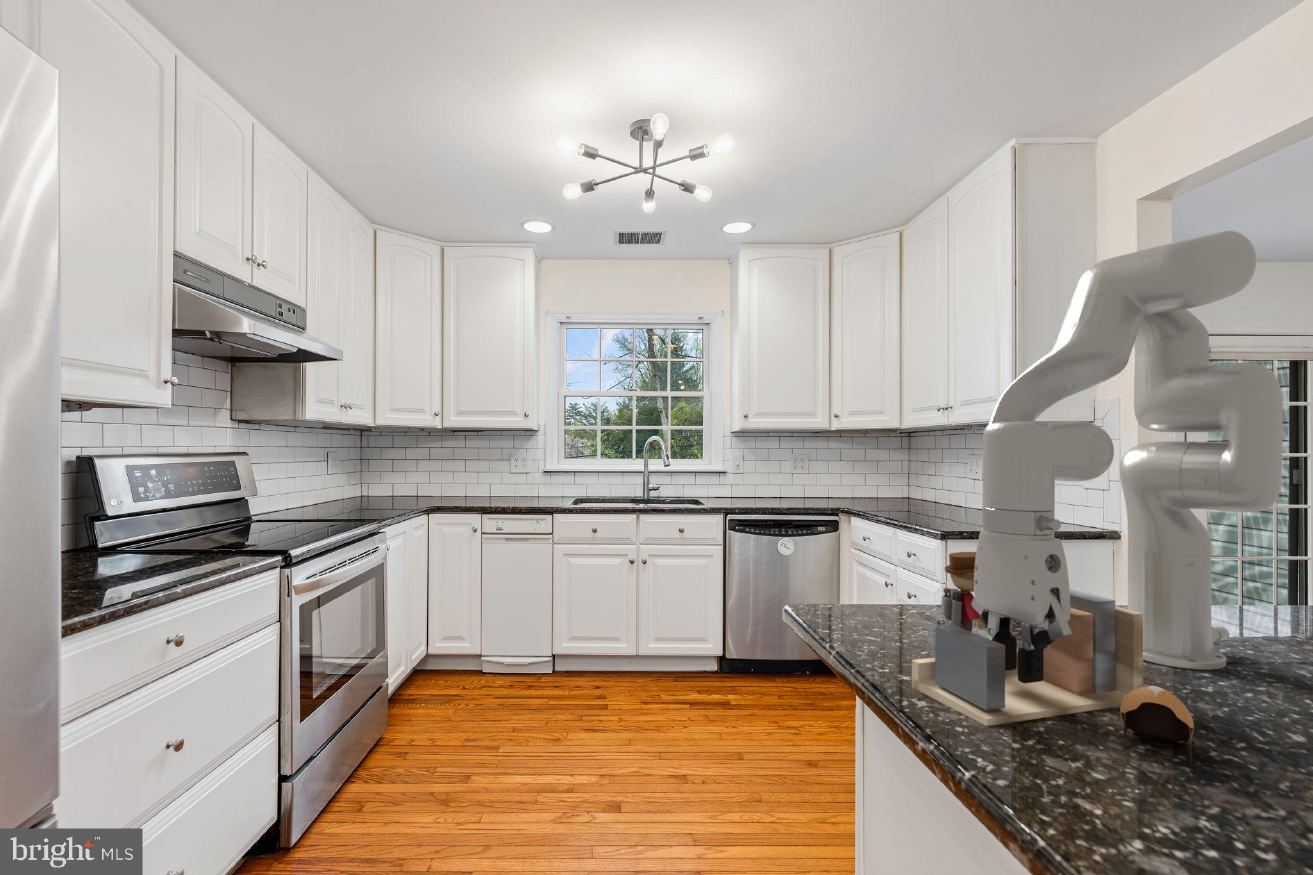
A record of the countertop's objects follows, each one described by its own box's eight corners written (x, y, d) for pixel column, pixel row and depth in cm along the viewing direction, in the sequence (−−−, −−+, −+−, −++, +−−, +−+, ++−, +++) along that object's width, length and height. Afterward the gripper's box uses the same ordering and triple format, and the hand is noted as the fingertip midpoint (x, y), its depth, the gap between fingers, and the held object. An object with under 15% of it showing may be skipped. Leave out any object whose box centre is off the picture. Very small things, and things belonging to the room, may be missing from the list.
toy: (1005, 670, 84) (1005, 561, 84) (952, 666, 85) (952, 559, 85) (979, 643, 95) (979, 547, 95) (932, 640, 96) (932, 545, 96)
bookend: (951, 680, 76) (952, 624, 76) (1005, 707, 68) (1005, 645, 68) (935, 683, 75) (935, 626, 75) (986, 710, 68) (987, 647, 68)
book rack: (1052, 669, 84) (1052, 581, 84) (1143, 705, 73) (1143, 603, 73) (911, 687, 78) (912, 591, 78) (986, 730, 66) (987, 617, 66)
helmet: (1195, 796, 59) (1189, 722, 64) (1199, 757, 56) (1193, 683, 61) (1119, 776, 63) (1120, 707, 68) (1119, 738, 59) (1120, 669, 64)
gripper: (1107, 532, 67) (1107, 699, 67) (988, 514, 83) (988, 650, 83) (1054, 534, 65) (1054, 707, 65) (942, 516, 81) (942, 655, 81)
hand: (1017, 674), depth 74 cm, fingers open, 3 cm apart
